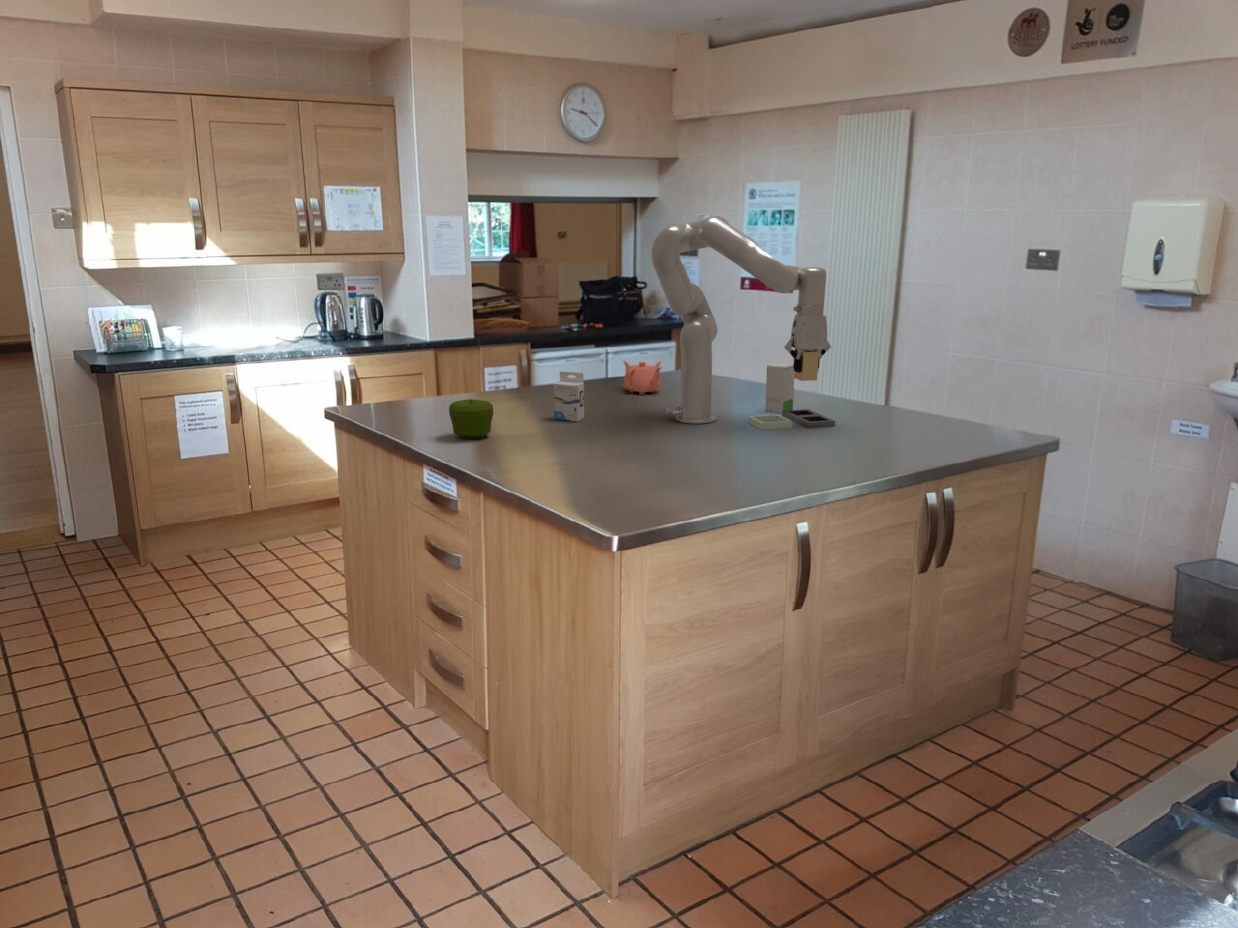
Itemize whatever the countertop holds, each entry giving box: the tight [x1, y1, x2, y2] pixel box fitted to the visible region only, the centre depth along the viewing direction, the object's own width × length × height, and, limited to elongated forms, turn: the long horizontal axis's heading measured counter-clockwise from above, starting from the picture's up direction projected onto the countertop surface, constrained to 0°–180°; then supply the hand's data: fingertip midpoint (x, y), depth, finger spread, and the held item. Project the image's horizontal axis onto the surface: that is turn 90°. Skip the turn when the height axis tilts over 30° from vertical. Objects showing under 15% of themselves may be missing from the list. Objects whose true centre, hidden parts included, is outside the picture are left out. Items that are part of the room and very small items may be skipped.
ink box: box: [553, 371, 585, 422], centre depth 288 cm, size 8×5×15 cm, turn 69°
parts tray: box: [747, 413, 794, 431], centre depth 280 cm, size 10×10×2 cm
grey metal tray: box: [781, 408, 836, 429], centre depth 285 cm, size 9×18×2 cm, turn 15°
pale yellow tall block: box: [794, 350, 819, 382], centre depth 276 cm, size 5×5×9 cm
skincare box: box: [764, 362, 795, 415], centre depth 299 cm, size 8×7×16 cm
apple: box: [448, 398, 494, 439], centre depth 267 cm, size 12×12×11 cm
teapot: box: [622, 360, 663, 396], centre depth 332 cm, size 14×14×11 cm
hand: (805, 371), depth 277 cm, fingers closed on pale yellow tall block, 5 cm apart
